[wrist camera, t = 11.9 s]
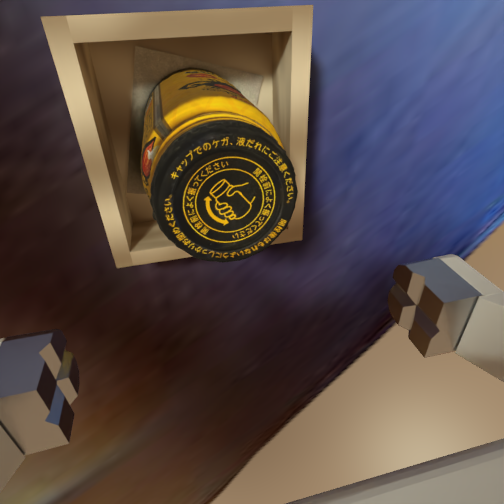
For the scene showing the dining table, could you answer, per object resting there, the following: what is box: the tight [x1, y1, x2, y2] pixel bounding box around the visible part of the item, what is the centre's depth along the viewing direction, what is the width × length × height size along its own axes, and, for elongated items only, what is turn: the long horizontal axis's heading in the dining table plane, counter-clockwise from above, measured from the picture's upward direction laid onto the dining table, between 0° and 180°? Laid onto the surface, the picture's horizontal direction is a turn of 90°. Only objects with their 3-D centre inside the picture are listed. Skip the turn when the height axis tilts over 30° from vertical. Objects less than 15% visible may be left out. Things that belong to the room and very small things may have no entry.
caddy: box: [41, 5, 313, 268], centre depth 21 cm, size 13×12×4 cm
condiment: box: [127, 46, 298, 262], centre depth 18 cm, size 7×8×12 cm
